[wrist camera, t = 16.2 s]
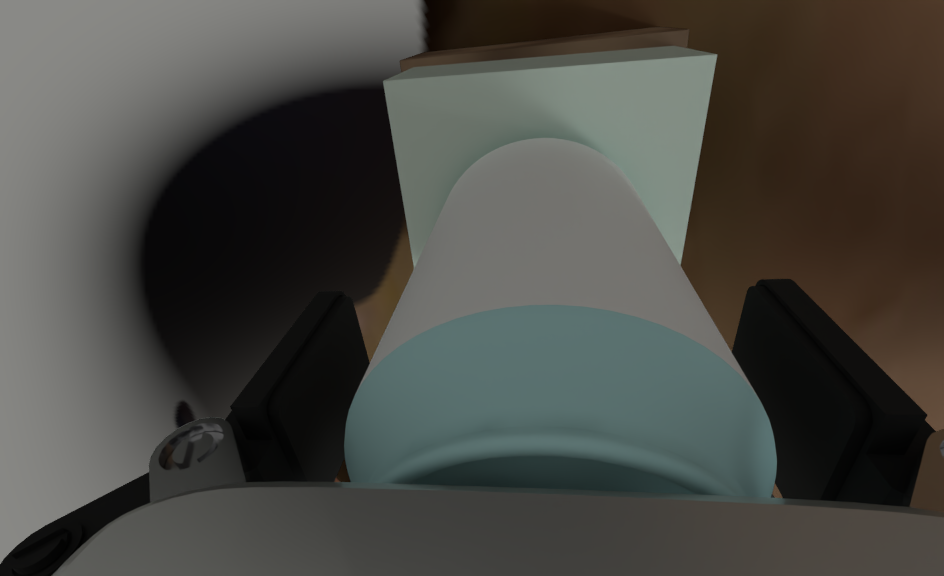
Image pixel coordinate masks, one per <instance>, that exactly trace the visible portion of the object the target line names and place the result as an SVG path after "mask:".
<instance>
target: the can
mask: <svg viewBox="0 0 944 576" xmlns="http://www.w3.org/2000/svg"><path fill="white" fill-rule="evenodd" d="M344 452H345V462H346V466H347V471H348V475H349V478H350V481H351V482H360V483H393V484H426V485H459V486H489V487H517V488H546V489H573V490H600V491H627V492H651V493H675V494H699V495H723V496H747V497H768V498H771V495H772V492H773V488H774V483H775V479H776V469H777V457H776V448H775V441H774V435H773V431H772V428H771V424H770V421H769V418H768V416H767V414H766V411H765V409H764V407H763V405H762V403H761V401H760V400H759V398H758V396H757V395H756V393H755V391H754V389H753V388H752V386H751V384H750V383H749V381H748V379H747V378H746V376H745V374H744V373H743V371H742V369H741V367H740V366H739V364H738V362H737V361H736V359H735V357H734V356H733V354H732V352H731V351H730V349H729V347H728V345H727V344H726V342H725V340H724V339H723V337H722V335H721V334H720V332H719V330H718V329H717V327H716V325H715V323H714V322H713V320H712V318H711V317H710V315H709V313H708V312H707V310H706V308H705V307H704V305H703V303H702V301H701V300H700V298H699V296H698V295H697V293H696V291H695V290H694V288H693V286H692V285H691V283H690V281H689V279H688V278H687V276H686V274H685V273H684V271H683V269H682V268H681V266H680V264H679V263H678V261H677V259H676V257H675V256H674V254H673V252H672V251H671V249H670V247H669V246H668V244H667V242H666V241H665V239H664V237H663V235H662V234H661V232H660V230H659V229H658V227H657V225H656V224H655V222H654V220H653V219H652V217H651V215H650V213H649V212H648V210H647V208H646V207H645V205H644V203H643V202H642V200H641V198H640V197H639V195H638V193H637V191H636V190H635V188H634V186H633V185H632V183H631V182H630V180H629V179H628V177H627V176H626V175H625V174H624V172H623V171H622V170H621V169H620V168H619V167H618V166H617V165H616V164H615V163H614V162H612V161H611V160H610V159H608V158H607V157H606V156H604V155H603V154H601V153H599V152H598V151H596V150H594V149H592V148H590V147H588V146H585V145H582V144H580V143H577V142H573V141H569V140H564V139H556V138H534V139H527V140H521V141H517V142H513V143H510V144H507V145H504V146H502V147H499V148H497V149H495V150H493V151H491V152H489V153H488V154H486V155H485V156H483V157H482V158H480V159H479V160H478V161H476V162H475V163H474V164H473V165H471V166H470V167H469V168H468V169H467V170H466V171H465V172H464V174H463V175H462V176H461V177H460V178H459V179H458V181H457V182H456V184H455V185H454V187H453V188H452V190H451V192H450V194H449V196H448V198H447V200H446V202H445V204H444V207H443V209H442V211H441V213H440V215H439V217H438V219H437V221H436V224H435V226H434V228H433V230H432V232H431V234H430V236H429V238H428V241H427V243H426V245H425V247H424V249H423V251H422V253H421V256H420V258H419V260H418V262H417V264H416V266H415V268H414V270H413V273H412V275H411V277H410V279H409V281H408V283H407V285H406V287H405V290H404V292H403V294H402V296H401V298H400V300H399V302H398V305H397V307H396V309H395V311H394V313H393V315H392V317H391V319H390V322H389V324H388V326H387V328H386V330H385V332H384V334H383V336H382V339H381V341H380V343H379V345H378V347H377V349H376V351H375V354H374V356H373V358H372V360H371V362H370V364H369V366H368V368H367V371H366V373H365V375H364V377H363V379H362V381H361V383H360V386H359V388H358V390H357V392H356V394H355V396H354V399H353V401H352V404H351V406H350V409H349V412H348V417H347V421H346V428H345V441H344Z"/></svg>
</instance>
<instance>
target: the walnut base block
mask: <svg viewBox="0 0 944 576" xmlns="http://www.w3.org/2000/svg"><path fill="white" fill-rule="evenodd" d="M688 37H689V29H679V28H667V27H651V28H642V29H633V30H624V31H615V32H606V33H597V34H588V35H579V36H570V37H561V38H552V39H542V40H533V41H524V42H515V43H506V44H497V45H488V46H479V47H470V48H461V49H452V50H443V51H434V52H425V53H420V54H418V55H415V56H412V57H409V58H406V59H403V60H400V66H401V73H402V72H404V71H406V70H408V69H411V68H413V67H422V66H435V65H447V64H459V63H471V62H483V61H495V60H507V59H519V58H531V57H543V56H555V55H567V54H580V53H592V52H604V51H616V50H628V49H640V48H652V47H664V46H678V47H683V48H687V45H688Z"/></svg>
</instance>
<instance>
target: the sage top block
mask: <svg viewBox="0 0 944 576" xmlns="http://www.w3.org/2000/svg"><path fill="white" fill-rule="evenodd" d="M716 59H717V54H713V53H708V52H703V51H698V50H693V49H688V48H683V47H678V46H664V47H652V48H640V49H628V50H616V51H604V52H592V53H580V54H567V55H555V56H543V57H531V58H519V59H507V60H495V61H483V62H471V63H459V64H447V65H435V66H422V67H413V68H411V69H408V70H406V71H404V72H402V73H400V74H397V75H395V76H393V77H391V78H388V79H386V80H384V81H383V85H384V90H385V96H386V102H387V108H388V114H389V120H390V126H391V132H392V138H393V144H394V150H395V156H396V162H397V168H398V174H399V180H400V186H401V192H402V198H403V204H404V210H405V216H406V222H407V228H408V234H409V240H410V246H411V252H412V258H413V264H414V268H415V266H416V264H417V262H418V260H419V258H420V256H421V253H422V251H423V249H424V247H425V245H426V243H427V241H428V238H429V236H430V234H431V232H432V230H433V228H434V226H435V224H436V221H437V219H438V217H439V215H440V213H441V211H442V209H443V207H444V204H445V202H446V200H447V198H448V196H449V194H450V192H451V190H452V188H453V187H454V185H455V184H456V182H457V181H458V179H459V178H460V177H461V176H462V175H463V174H464V172H465V171H466V170H467V169H468V168H469V167H470V166H471V165H473V164H474V163H475V162H476V161H478V160H479V159H480V158H482V157H483V156H485V155H486V154H488V153H489V152H491V151H493V150H495V149H497V148H499V147H502V146H504V145H507V144H510V143H513V142H517V141H521V140H527V139H534V138H556V139H564V140H569V141H573V142H577V143H580V144H582V145H585V146H588V147H590V148H592V149H594V150H596V151H598V152H599V153H601V154H603V155H604V156H606V157H607V158H608V159H610V160H611V161H612V162H614V163H615V164H616V165H617V166H618V167H619V168H620V169H621V170H622V171H623V172H624V174H625V175H626V176H627V177H628V179H629V180H630V182H631V183H632V185H633V186H634V188H635V190H636V191H637V193H638V195H639V197H640V198H641V200H642V202H643V203H644V205H645V207H646V208H647V210H648V212H649V213H650V215H651V217H652V219H653V220H654V222H655V224H656V225H657V227H658V229H659V230H660V232H661V234H662V235H663V237H664V239H665V241H666V242H667V244H668V246H669V247H670V249H671V251H672V252H673V254H674V256H675V257H676V259H677V261H678V263H679V264H680V266H681V260H682V254H683V248H684V243H685V237H686V231H687V225H688V220H689V214H690V208H691V202H692V197H693V191H694V185H695V179H696V174H697V168H698V162H699V157H700V151H701V145H702V139H703V134H704V128H705V122H706V116H707V111H708V105H709V99H710V93H711V88H712V82H713V76H714V70H715V65H716Z"/></svg>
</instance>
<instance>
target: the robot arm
mask: <svg viewBox="0 0 944 576" xmlns="http://www.w3.org/2000/svg"><path fill="white" fill-rule="evenodd" d="M732 354H733V356H734V357H735V359H736V361H737V362H738V364H739V366H740V367H741V369H742V371H743V373H744V374H745V376H746V378H747V379H748V381H749V383H750V384H751V386H752V388H753V389H754V391H755V393H756V395H757V396H758V398H759V400H760V401H761V403H762V405H763V407H764V409H765V411H766V414H767V416H768V418H769V421H770V424H771V428H772V431H773V435H774V441H775V448H776V457H777V469H776V479H775V484H776V485H777V487H778V489H779V491H780V493H781V495H782V497H783V498H768V497H747V496H723V495H699V494H675V493H651V492H627V491H600V490H573V489H546V488H517V487H489V486H459V485H426V484H393V483H360V482H334V481H335V479H336V476H337V474H338V472H339V469H340V467H341V464H342V462H343V460H344V457H345V452H344V441H345V428H346V421H347V417H348V412H349V409H350V406H351V404H352V401H353V399H354V396H355V394H356V392H357V390H358V388H359V386H360V383H361V381H362V379H363V377H364V375H365V373H366V371H367V368H368V366H369V364H370V363H369V359H368V355H367V352H366V348H365V344H364V341H363V337H362V333H361V330H360V326H359V322H358V319H357V315H356V311H355V308H354V304H353V301H352V299H351V297H349V296H346V295H345V294H344V292H342V291H321V292H318V293H317V294H316V296H315V297H314V298H313V299H312V301H311V302H310V304H309V305H308V306H307V307H306V308H305V310H304V311H303V312H302V314H301V315H300V316H299V318H298V319H297V320H296V322H295V323H294V324H293V325H292V327H291V328H290V330H289V331H288V332H287V333H286V335H285V336H284V337H283V338H282V340H281V341H280V343H279V344H278V345H277V346H276V348H275V349H274V350H273V352H272V353H271V354H270V355H269V357H268V358H267V360H266V361H265V362H264V363H263V365H262V366H261V367H260V368H259V370H258V371H257V372H256V374H255V375H254V377H253V378H252V379H251V380H250V382H249V383H248V384H247V385H246V387H245V388H244V390H243V391H242V392H241V393H240V395H239V396H238V397H237V399H236V400H235V401H234V403H233V404H232V405H231V406H230V407H231V409H232V411H231V413H230V414H229V415H228V417H227V418H226V419H225V420H224V419H222V418H216V417H210V418H203V419H199V420H196V421H193V422H190V423H188V424H186V425H184V426H182V427H180V428H178V429H176V430H175V431H174V432H172V433H171V434H170V435H168V436H167V437H166V438H165V439H164V440H163V441H162V442H161V443H160V444H159V445H158V446H157V447H156V449H155V450H154V452H153V454H152V455H151V458H150V463H149V473H146V474H144V475H143V476H141V477H139V478H137V479H135V480H133V481H131V482H129V483H127V484H125V485H123V486H121V487H119V488H117V489H115V490H114V491H112V492H110V493H108V494H106V495H104V496H102V497H100V498H98V499H96V500H94V501H92V502H90V503H88V504H86V505H84V506H83V507H81V508H79V509H77V510H75V511H73V512H71V513H69V514H67V515H65V516H63V517H61V518H59V519H57V520H55V521H54V522H52V523H50V524H48V525H46V526H44V527H43V528H41V529H39V530H38V531H36V532H34V533H33V534H31V535H30V536H29V537H27V538H26V539H25V540H24V541H22V542H21V543H20V544H19V545H17V546H16V547H15V548H14V549H13V550H12V551H11V552H10V553H9V554H8V555H7V556H6V557H5V558H4V560H3V561H2V563H1V564H0V576H944V429H942V430H939V431H937V432H936V431H935V430H934V429H933V428H932V427H931V426H930V425H929V424H928V423H927V422H926V421H925V418H926V417H927V414H926V413H925V412H924V411H923V410H922V409H921V408H920V407H919V406H918V405H917V404H916V403H915V402H914V401H913V400H912V399H911V398H910V397H909V396H908V395H907V394H906V393H905V392H904V391H903V390H902V389H901V388H900V387H899V386H898V385H897V384H896V383H895V382H894V381H893V380H892V379H891V378H890V377H889V376H888V375H887V374H886V373H885V372H884V371H883V370H882V369H881V368H880V367H879V366H878V365H877V364H876V363H875V362H874V361H873V360H872V359H871V358H870V357H869V356H868V355H867V354H866V353H865V352H864V351H863V350H862V349H861V348H860V347H859V346H858V345H857V344H856V343H855V342H854V341H853V340H852V339H851V338H850V337H849V336H848V335H847V334H846V333H845V332H844V331H843V330H842V329H841V328H840V327H839V326H838V325H837V324H836V323H835V322H834V321H833V320H832V319H831V318H830V317H829V316H828V315H827V314H826V313H825V312H824V311H823V310H822V309H821V308H820V307H819V306H818V305H817V304H816V303H815V302H814V301H813V300H812V299H811V298H810V297H809V296H808V295H807V294H806V293H805V292H804V291H803V290H802V289H801V288H800V287H799V286H798V285H797V284H796V283H795V282H794V281H793V280H791V279H765V280H760V281H758V282H757V284H756V286H751V287H749V289H748V291H747V294H746V298H745V302H744V306H743V310H742V314H741V318H740V322H739V326H738V330H737V334H736V338H735V342H734V346H733V350H732Z"/></svg>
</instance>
